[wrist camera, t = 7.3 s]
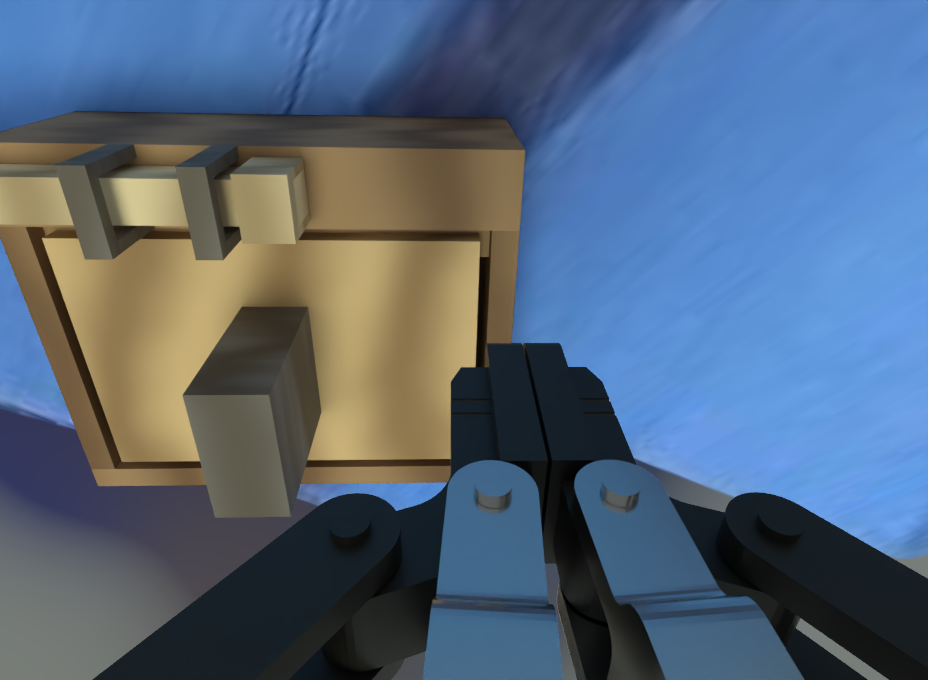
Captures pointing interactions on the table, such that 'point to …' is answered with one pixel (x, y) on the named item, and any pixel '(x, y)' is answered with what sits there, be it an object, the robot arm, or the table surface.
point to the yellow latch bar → (170, 197)
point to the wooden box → (197, 163)
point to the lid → (275, 352)
